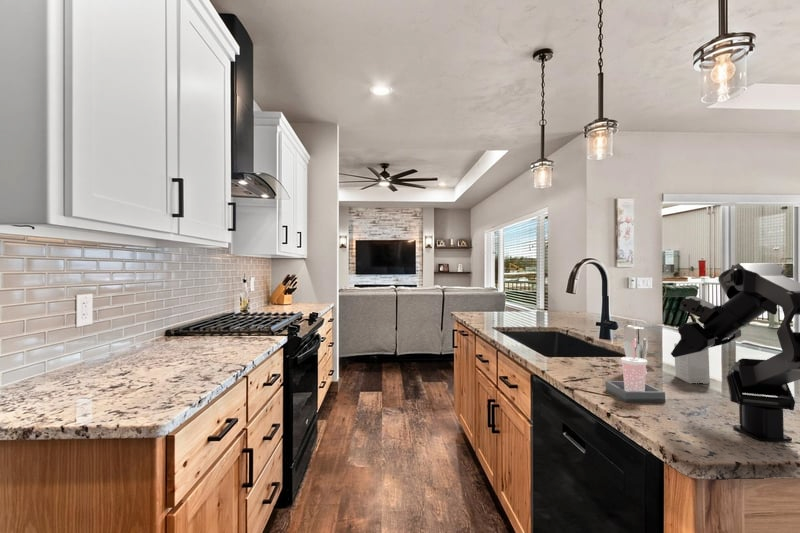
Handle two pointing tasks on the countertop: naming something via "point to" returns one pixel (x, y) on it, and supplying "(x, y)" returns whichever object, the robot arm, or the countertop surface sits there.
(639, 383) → the beverage cup
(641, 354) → the beer glass
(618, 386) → the tray
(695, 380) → the small box
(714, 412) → the countertop surface
